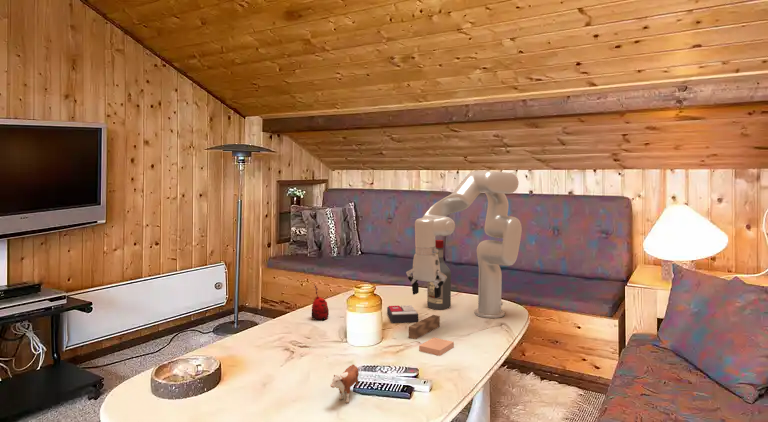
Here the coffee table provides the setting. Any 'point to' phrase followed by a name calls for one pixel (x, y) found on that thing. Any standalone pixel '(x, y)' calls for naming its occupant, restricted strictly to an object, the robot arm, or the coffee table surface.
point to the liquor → (445, 296)
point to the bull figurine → (346, 381)
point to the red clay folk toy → (319, 308)
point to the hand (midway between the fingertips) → (426, 295)
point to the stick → (424, 326)
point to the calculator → (402, 314)
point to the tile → (436, 346)
